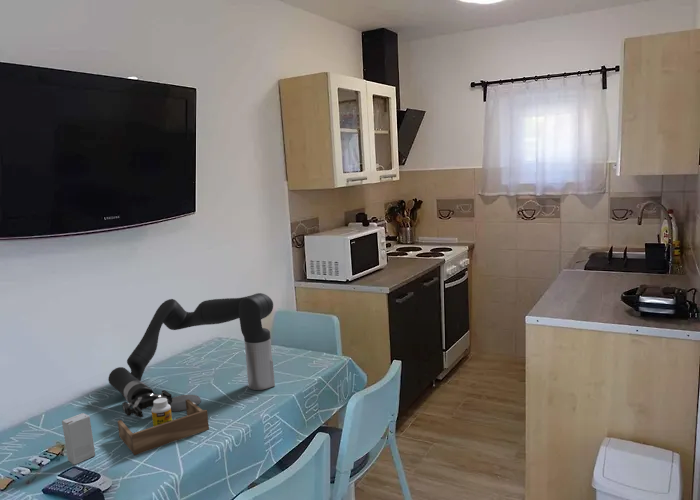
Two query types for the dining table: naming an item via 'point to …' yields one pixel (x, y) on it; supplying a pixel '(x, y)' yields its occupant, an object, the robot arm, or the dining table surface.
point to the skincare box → (78, 438)
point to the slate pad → (183, 402)
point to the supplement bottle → (161, 412)
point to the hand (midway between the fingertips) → (155, 409)
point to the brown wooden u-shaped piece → (165, 430)
